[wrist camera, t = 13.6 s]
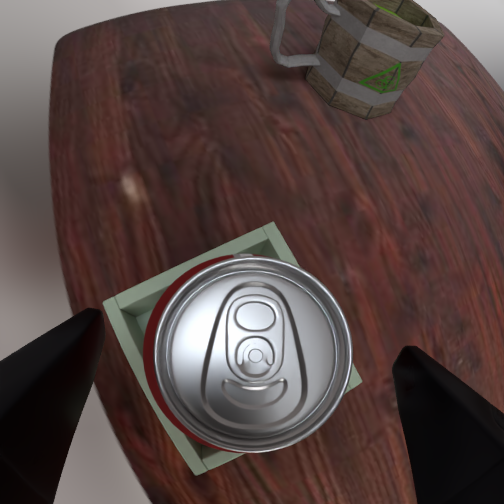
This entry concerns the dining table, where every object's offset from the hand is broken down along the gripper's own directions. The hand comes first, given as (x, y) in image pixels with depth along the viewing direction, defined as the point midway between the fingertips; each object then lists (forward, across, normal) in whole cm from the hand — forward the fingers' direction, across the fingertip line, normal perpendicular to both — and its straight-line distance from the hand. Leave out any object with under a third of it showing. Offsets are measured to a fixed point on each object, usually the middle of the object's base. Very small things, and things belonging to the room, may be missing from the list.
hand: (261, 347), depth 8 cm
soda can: (+8, 0, +8) cm, 12 cm away
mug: (+28, -7, -11) cm, 31 cm away
